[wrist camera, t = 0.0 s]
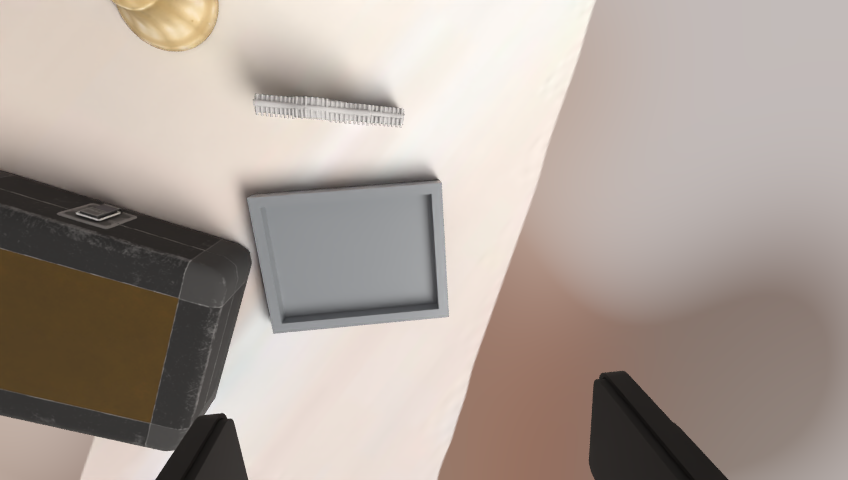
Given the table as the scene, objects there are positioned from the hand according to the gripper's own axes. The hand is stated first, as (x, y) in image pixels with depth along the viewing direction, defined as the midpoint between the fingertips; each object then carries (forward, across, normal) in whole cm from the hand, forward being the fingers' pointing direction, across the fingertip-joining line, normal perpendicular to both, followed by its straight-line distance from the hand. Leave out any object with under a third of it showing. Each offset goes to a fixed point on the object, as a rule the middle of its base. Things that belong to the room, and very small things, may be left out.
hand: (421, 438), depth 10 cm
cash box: (+32, +30, +7) cm, 44 cm away
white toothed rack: (+32, +5, -9) cm, 33 cm away
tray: (+31, +5, +5) cm, 32 cm away
